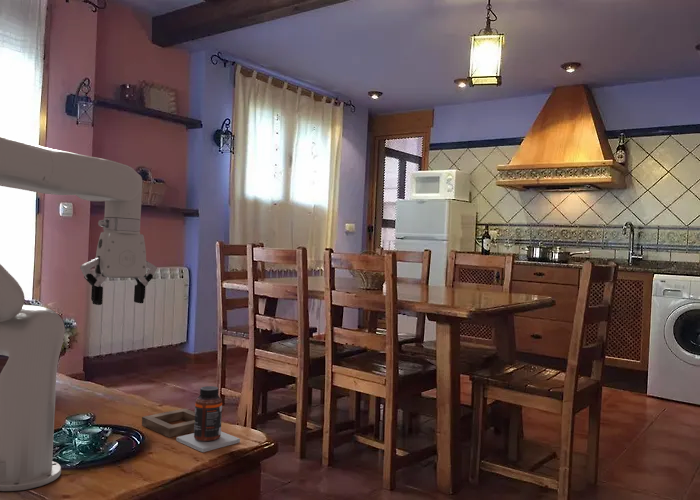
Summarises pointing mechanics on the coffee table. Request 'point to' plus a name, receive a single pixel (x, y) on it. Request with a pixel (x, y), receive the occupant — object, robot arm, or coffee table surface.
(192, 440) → the glazed tile
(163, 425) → the frame
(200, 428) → the supplement bottle
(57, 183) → the robot arm
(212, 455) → the coffee table surface
